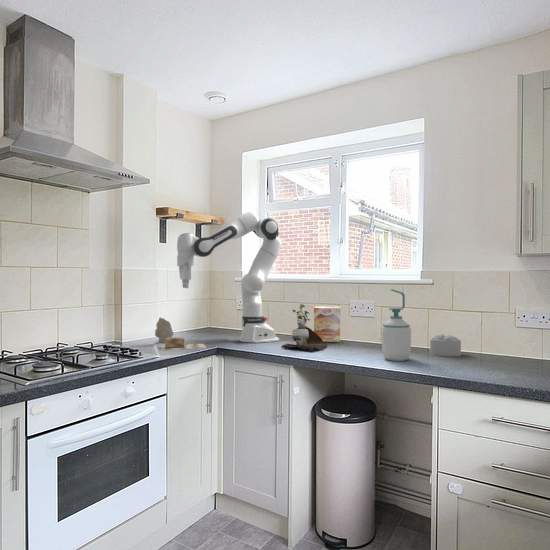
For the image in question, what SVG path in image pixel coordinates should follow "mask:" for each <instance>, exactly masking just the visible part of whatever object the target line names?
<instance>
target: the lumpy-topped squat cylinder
mask: <svg viewBox="0 0 550 550" xmlns="http://www.w3.org/2000/svg"><path fill="white" fill-rule="evenodd" d="M429 339H430V340H429V349H430V350H429V354H430V355H431V356H435V357H436V356H438V357H461V356H462V343H461V339H459V338H458V337H456V336H453V335H446V336H445V335H444V334H440V335H435V336H434V337H432V338H429Z"/></svg>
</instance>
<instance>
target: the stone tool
mask: <svg viewBox="0 0 550 550" xmlns="http://www.w3.org/2000/svg"><path fill="white" fill-rule="evenodd" d="M156 322H157V323H156V325H155V326H156V329H155V330H154V335H155V336H154V337H156V338H158V343H165V338H173V336H174V331H173V328H172V325H171V322H170V321H168V320H166V319H165V318H162V317H160V316H159V317H158V320H157V321H156Z"/></svg>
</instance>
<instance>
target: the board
mask: <svg viewBox="0 0 550 550" xmlns="http://www.w3.org/2000/svg"><path fill="white" fill-rule="evenodd" d="M160 348H161V350H162V351H170V350H171V351H172V350H188V349H201V348H202V349H203V348H204V349H205V348H207V346H206V345H205V344H204V343H194V344H193V343H190V344H184V347H183V348H166V347H165V345H160Z"/></svg>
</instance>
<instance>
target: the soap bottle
mask: <svg viewBox="0 0 550 550" xmlns="http://www.w3.org/2000/svg"><path fill="white" fill-rule="evenodd" d="M390 291H391V292H393V293H398V294H400V295H401V296H402V307H389V308H388V310H389V311H391V312H392V313H393V315H390V316H389V319H388V320H387V321H385V322H384V324H382V327H381V351H382V355H383V357H384V358H385V359H386V360H388V361H393V362H404V361H407V360H408V359H410V356H411V353H412V329H411V327H410V324H409V323H407V322H406V321H404V320H403V316H401V315H399V313H401V311H402V310H404V309H405V308H406V307H405V304H406V298H405V297H406V296H405V295H406V294H405V293H404V292H402V291H399V290H397V289H394V288H393V289H392V288H390Z"/></svg>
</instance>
